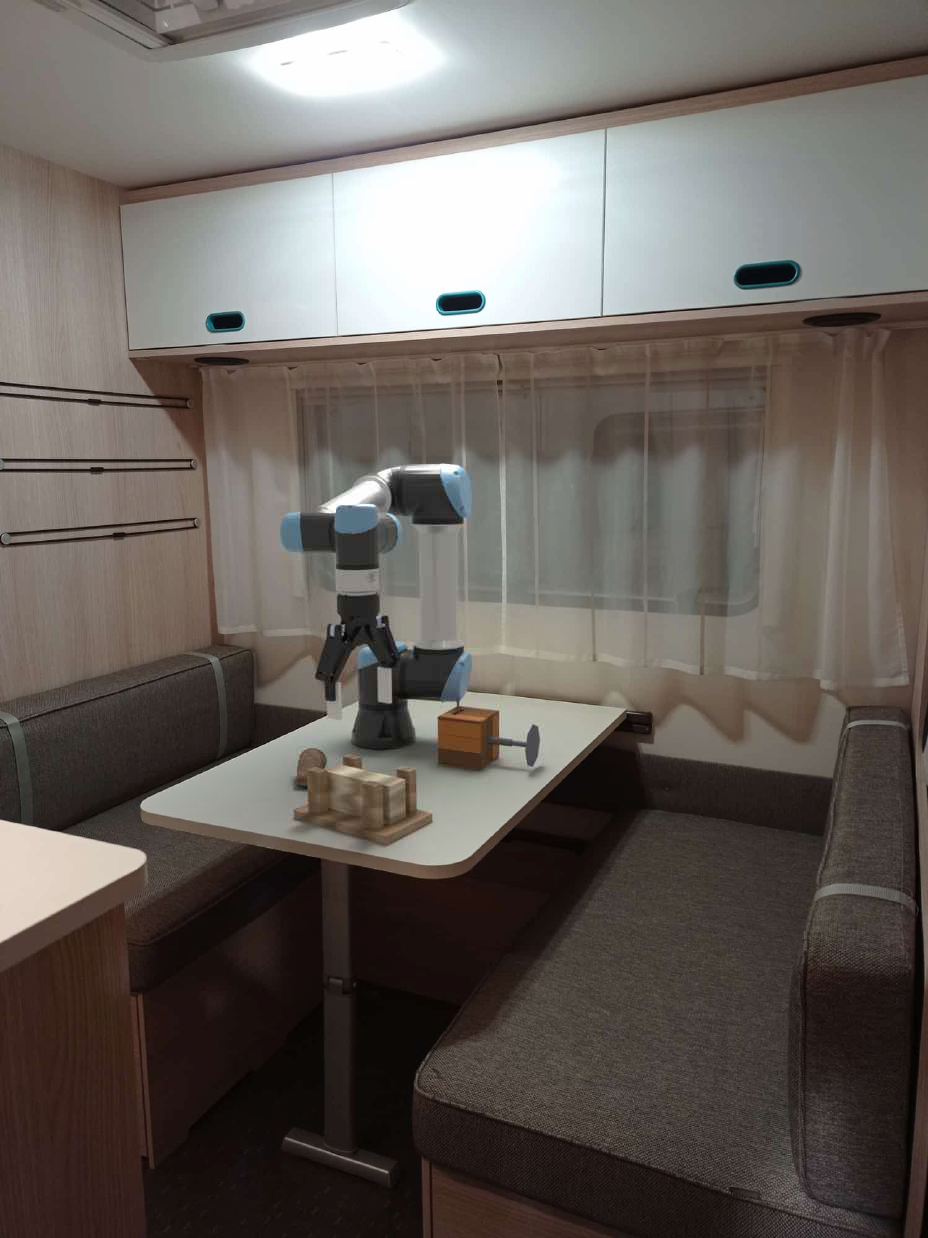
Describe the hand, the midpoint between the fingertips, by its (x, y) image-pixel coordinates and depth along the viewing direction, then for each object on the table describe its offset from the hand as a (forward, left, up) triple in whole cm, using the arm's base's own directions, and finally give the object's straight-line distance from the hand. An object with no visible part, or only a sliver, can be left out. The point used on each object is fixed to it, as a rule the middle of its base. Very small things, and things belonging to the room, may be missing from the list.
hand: (360, 710), depth 160 cm
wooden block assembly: (0, 0, -21) cm, 21 cm away
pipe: (-19, +11, -21) cm, 30 cm away
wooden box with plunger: (+1, +40, -21) cm, 46 cm away
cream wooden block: (0, 0, -19) cm, 19 cm away
